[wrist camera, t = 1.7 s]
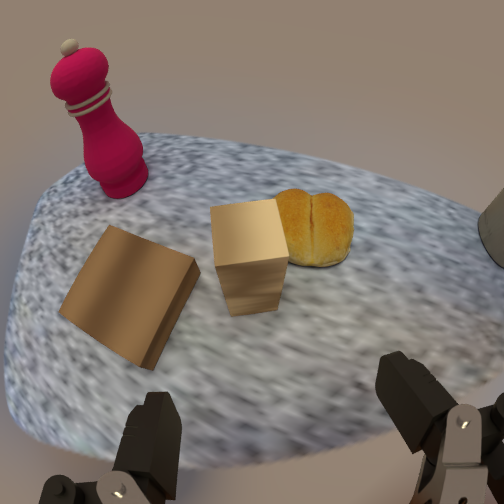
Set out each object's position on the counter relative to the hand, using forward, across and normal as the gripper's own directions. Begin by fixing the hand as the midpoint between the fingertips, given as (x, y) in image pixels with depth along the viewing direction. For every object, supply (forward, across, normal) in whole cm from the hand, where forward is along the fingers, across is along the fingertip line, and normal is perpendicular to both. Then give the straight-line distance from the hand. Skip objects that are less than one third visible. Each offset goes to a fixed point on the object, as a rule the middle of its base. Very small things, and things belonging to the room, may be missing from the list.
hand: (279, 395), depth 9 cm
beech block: (+15, 0, +3) cm, 16 cm away
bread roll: (+20, -7, -1) cm, 21 cm away
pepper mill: (+27, +14, -9) cm, 32 cm away
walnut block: (+16, +11, +2) cm, 19 cm away
